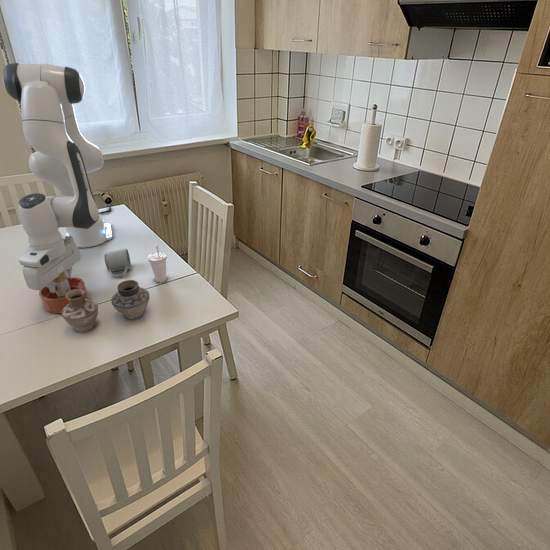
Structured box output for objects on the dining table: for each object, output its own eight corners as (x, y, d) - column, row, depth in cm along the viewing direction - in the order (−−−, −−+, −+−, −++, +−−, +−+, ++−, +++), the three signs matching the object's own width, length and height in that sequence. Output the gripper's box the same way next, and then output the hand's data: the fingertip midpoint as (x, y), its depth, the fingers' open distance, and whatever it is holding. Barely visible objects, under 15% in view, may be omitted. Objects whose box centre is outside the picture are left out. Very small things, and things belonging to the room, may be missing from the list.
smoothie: (165, 285, 138) (159, 250, 131) (148, 283, 139) (141, 248, 132) (173, 275, 143) (167, 241, 136) (156, 273, 145) (150, 240, 137)
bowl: (50, 292, 134) (45, 279, 131) (91, 288, 136) (88, 275, 133) (39, 316, 123) (33, 302, 120) (84, 311, 125) (79, 297, 122)
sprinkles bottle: (67, 295, 132) (55, 260, 125) (77, 298, 130) (65, 264, 123) (55, 302, 128) (43, 267, 121) (65, 306, 127) (53, 271, 119)
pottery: (66, 320, 121) (55, 288, 115) (148, 299, 131) (142, 269, 125) (68, 342, 113) (56, 309, 107) (155, 318, 123) (149, 286, 116)
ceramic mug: (108, 265, 149) (103, 247, 145) (131, 262, 151) (127, 244, 147) (107, 280, 141) (102, 262, 136) (131, 276, 143) (127, 258, 139)
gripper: (62, 232, 128) (74, 268, 135) (14, 263, 111) (30, 302, 118) (79, 234, 127) (90, 270, 134) (33, 266, 110) (47, 305, 117)
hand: (61, 285), depth 126 cm, fingers open, 5 cm apart
